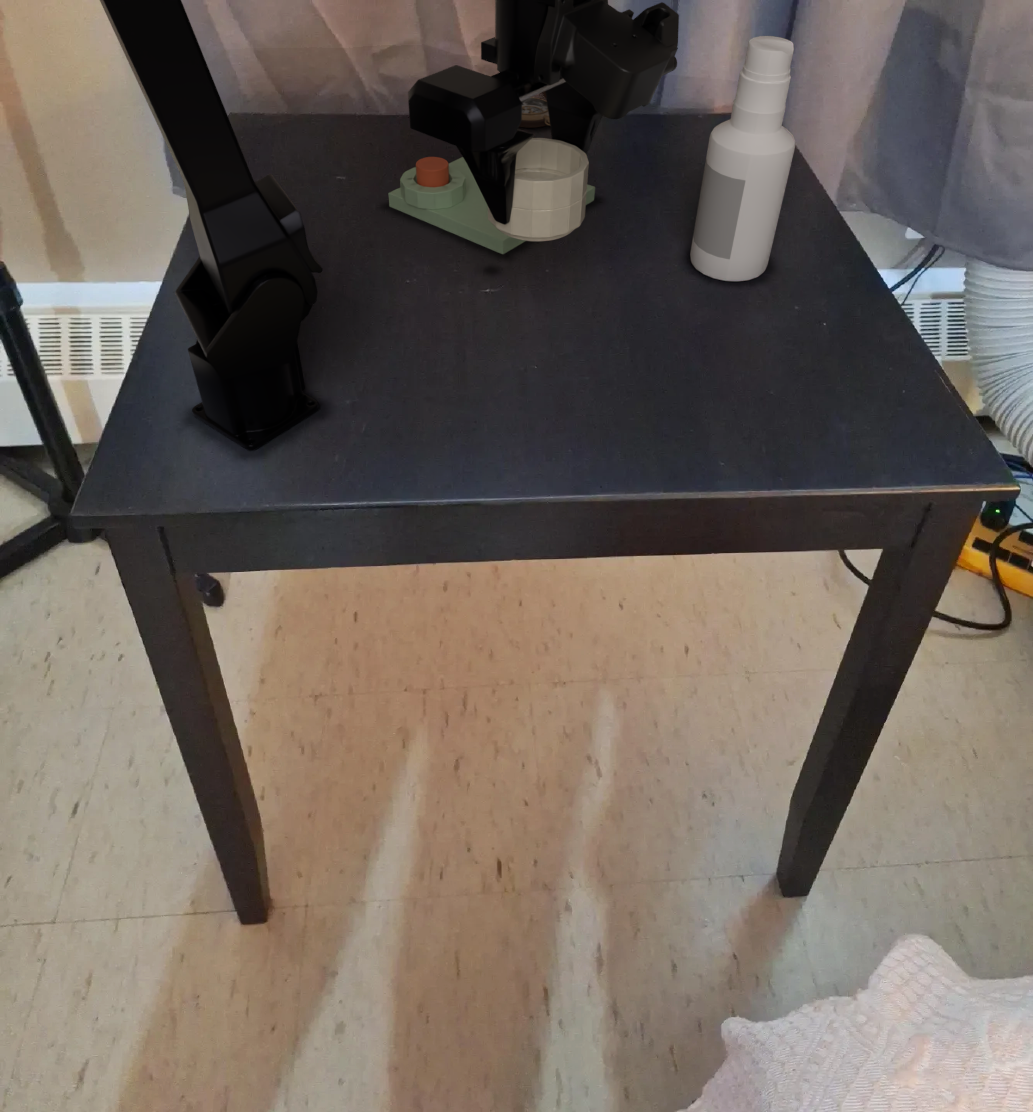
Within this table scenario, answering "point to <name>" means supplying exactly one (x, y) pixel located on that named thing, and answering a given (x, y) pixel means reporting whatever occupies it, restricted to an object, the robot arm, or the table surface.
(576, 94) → the robot arm
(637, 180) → the table surface
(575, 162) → the bowl
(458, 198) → the scale
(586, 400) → the table surface
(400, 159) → the table surface
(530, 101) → the compass
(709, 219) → the white bottle
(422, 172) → the button
